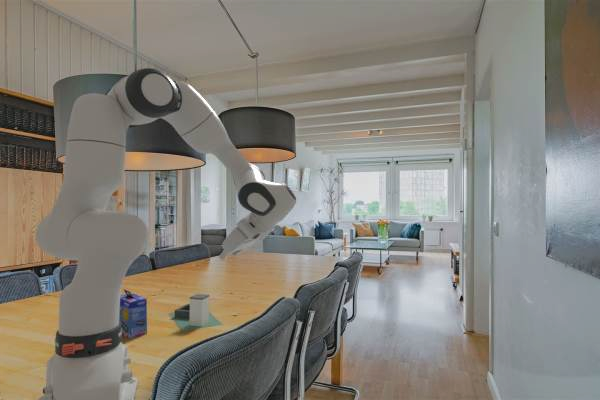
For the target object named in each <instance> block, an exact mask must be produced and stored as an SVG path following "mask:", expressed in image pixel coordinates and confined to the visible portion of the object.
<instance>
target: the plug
mask: <svg viewBox="0 0 600 400" xmlns="http://www.w3.org/2000/svg"><path fill="white" fill-rule="evenodd" d="M189 304H190V318H189V325H191V326H201V327H202V326H204V325H205V324H207V323H208V322H209V312H210V294H203V293H202V294H201V293H196V294H193V295H191V296H190V297H189Z"/></svg>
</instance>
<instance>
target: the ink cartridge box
mask: <svg viewBox="0 0 600 400" xmlns="http://www.w3.org/2000/svg"><path fill="white" fill-rule="evenodd" d="M123 291H124V293H125V294H120V313H119V321H120V322H121V328H122V334H121V336H122V335H123V336H124V337H125V338H129V339H132V338H133V339H134V338H137V337H141V336H144V335H147V334H148V310H147V309H148V303H147V301H148V300H147V298H146V297H144V296H140V295H138V294H136V293H131V292H130V290H127V289H123Z"/></svg>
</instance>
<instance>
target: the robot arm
mask: <svg viewBox="0 0 600 400" xmlns="http://www.w3.org/2000/svg"><path fill="white" fill-rule="evenodd" d="M159 119H162V120H164V121H166V122H167V123H169V124H170V125H171V126H172V127H173V129H175V132H177V134H178V135H179V136H180V137H181V138H182V140H183V141H185V143H186V144H188V145H189V146H190V147H191V148H192V149H193V150H194V151H196V153H199V154H204V155H207V154H211V155H213V156H215V157H216V159H217V160H219V162H220V163H221V164H222V165H223V166H224V168H226V169H227V171H228V172H229V173H230V174H231V176H232V179H233V184H234V186H235V190H236V197H237V200H238V203H239V204H240V205H241V207H243V208H244V209H245V210H247V211H249V213H248V214H247V215H246V216H245V217H243V218H242V219H240V220H239V221H238V222H236V227H234V229H233V230H232V231H231V232H230V233H229V234H228V235H227V237H226V238H225V239H224V240H223V242H222V243H221V248H222V249H223V250H222V252H221V253H220V254H219V255H218V258H219V259H220V260H221V261H223V260H226V259H227V258H228V256H229V255H230V254H232V255H233V256H237V255H239V254H240V253H241V252H242V251H243V250H245V249H248V248H249V247H253V245H255V244H256V243H257V242H258V241H259V240H260V241H263V240H264V239H265V238H266V237H267V236H269V234H270V233H271V232H272V231H273V230H274V229H275V227H276V225H277V224H279V223H281V222H282V221H283V220H284V219H285V218H286V217H287V215H288V214H290V213H291V211H292V210H293V208H294V207H295V205H296V204H297V197H296V195H295V193H294V192H293V190H292V189H291V188H290V187H289V185H288V184H286V183H285V182H272V181H269V180H266V177H265V173H264V172H263V171H262V169H261V168H259V167H258V166H257V165H255V164H253V163H251V162H249V161H248V160H247V159H246V158H245V157H244V156H243V154H242V153H241V152H240V151H239V149H237V147H236V146H235V145H234V143H233V142H232V141H231V139H230V137H229V134H228V132H227V129H226V127H225V126H224V124H223V123H222V120H221V119H220V117H219V116H218V114H217V113H216V111H215V110H214V109H213V108H212V107H211V105H210V104H209V103H208V102H207V101H206V99H205V98H204V97H203V96H202V95H201V94H200V93H199V92H198V91H197V90H196V89H195V88H194V87H193V86H191V84H189V83H188V82H186V81H175V80H173V79H172V78H171V77H170V76H168V75H167V74H165V72H162V71H161V70H159V69H156V68H148V67H146V68H139V69H137V70H134V71H132V72H131V73H130V74H129V75H126V76H124V77H122V78H121V79H120V80H118V81H117V82H116V83H115V84H114V85H113V86H111V87H110V88H109V89H108V90H107V92H106V93H105V94H102V93H96V92H95V93H86V94H83V95H80V96H79V97H78V98H77V99H76V100H75V101H74V104H73V106H72V110H71V113H70V117H69V120H68V121H69V123H68V128H67V134H66V144H65V145H66V146H65V158H64V159H65V161H64V170H63V171H64V172H63V178H62V182H61V185H60V189H59V191H58V194H57V196H56V199H55V202H54V204H53V206H52V208H51V209H50V211H49V212H48V214H47V215H46V216H44V217H43V218H42V219H41V220H40V221H39V223H38V225H37V227H36V231H35V241H36V243H37V245H38V248H39V249H41V251H42V252H45V253H46V254H48V255H51V256H53V257H54V258H58V259H61V260H67V261H77V265H76V269H75V273H74V276H73V279H72V280H71V282H70V283H69V284H68V285H66V286H65V287H64V288H63V289H62V290H61V292H60V293H59V297H58V330H57V331H56V333H55V338H54V345H55V346H54V354H53V355H52V356H51V357H50V358H48V360H46V371H45V372H46V373H45V375H46V377H45V386H44V387H43V389H42V394H43V395H41V396H39V397H38V398H36V399H35V400H134V396H135V397H136V395H135V390H136V391H137V389H136V386H137V387H138V384H137V382H138V381H139V380H138V377H136V376H133V369H128V368H129V367H128V366H129V365H130V364H131V357H130V356H129V357H128V353H129V352H128V351H129V347H128V346H127V345H126V344H124V343H123V342H122V328H121V322H120V321H119V313H120V295H122V294H121V292H122V288H123V282H124V280H125V278H126V274H127V272H128V270H129V268H130V266H131V265H132V264H133V262H135V260H137V259H138V258H140V256H141V255H142V254H143V253H144V251H145V249H146V247H147V245H148V241H149V232H148V228H147V225H146V224H145V222H144V221H143V219H142V218H141V217H139V216H137V215H135V214H131V213H129V212H126V211H122V210H121V211H120V210H116V209H115V210H109V209H107V207H108V203H109V201H110V199H111V197H112V196H113V194H115V192H116V191H118V190H119V189H120V188H121V187H122V185H123V184H124V181H125V167H126V152H127V151H126V146H127V139H126V138H127V134H128V133H127V132H128V129H129V128H136V127H139V126H142V125H146V124H150V123H152V122H154V121H156V120H159ZM130 383H132V384H130ZM138 383H139V382H138Z"/></svg>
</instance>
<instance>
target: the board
mask: <svg viewBox="0 0 600 400" xmlns="http://www.w3.org/2000/svg"><path fill="white" fill-rule="evenodd" d="M168 315H169V316H170V318H171V319H172V320H173V321H174V323H175V325H177V327H178V328H179V330H180V331H181V332H187V331H193V330H198V329H199V330H200V329H205V328H206V329H207V328H211V327H217V326H224V324H223V323H222V322H221V321H220V320H219V319H218V318H217V317H215V316H214V315H213V314H212V313H211V312H210V311H209V322H208V323H207V324H205V325H204V326H202V327H201V326H191V325H189V318H190V303H186V304H185V305H182V306H181V307H178V308H176V309H174V312H168Z"/></svg>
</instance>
